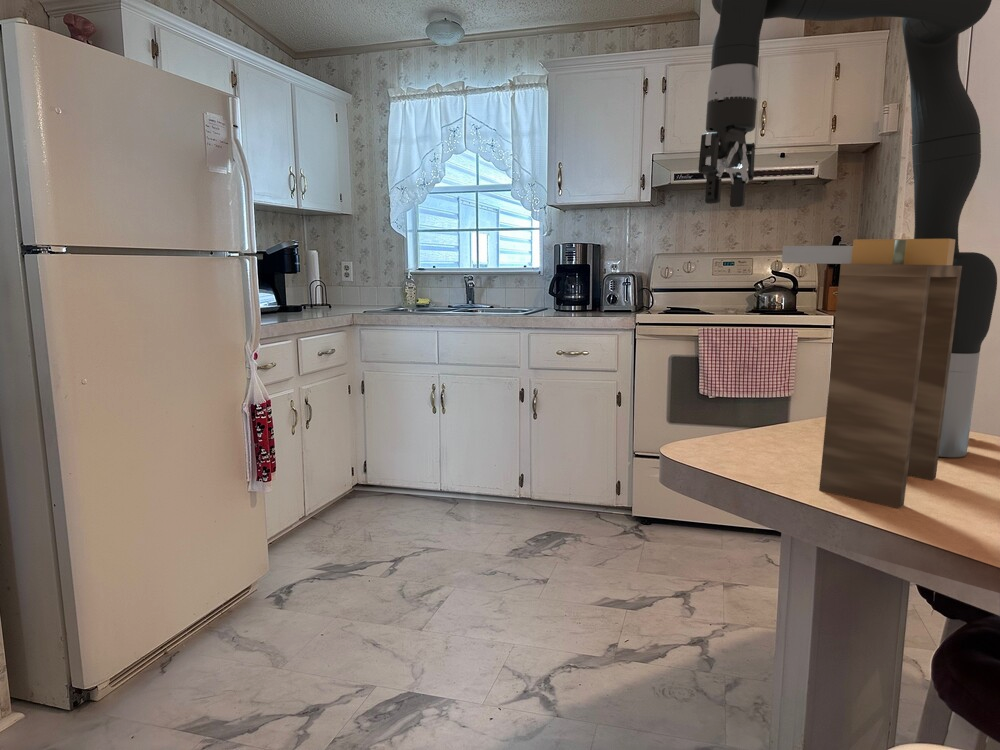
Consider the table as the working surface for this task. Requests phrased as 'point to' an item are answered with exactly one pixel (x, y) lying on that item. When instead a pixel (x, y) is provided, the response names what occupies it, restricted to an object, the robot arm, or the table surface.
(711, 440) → the table surface
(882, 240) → the two-tone rectangular bar
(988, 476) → the table surface
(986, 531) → the table surface
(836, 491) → the shelf
